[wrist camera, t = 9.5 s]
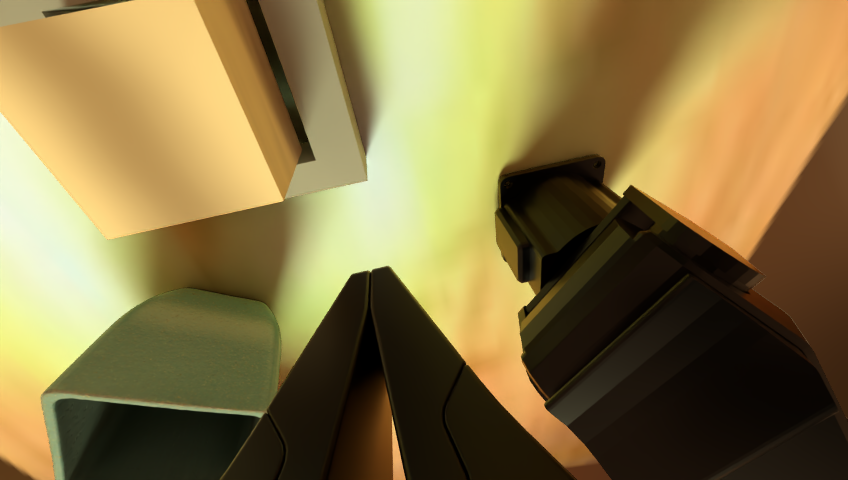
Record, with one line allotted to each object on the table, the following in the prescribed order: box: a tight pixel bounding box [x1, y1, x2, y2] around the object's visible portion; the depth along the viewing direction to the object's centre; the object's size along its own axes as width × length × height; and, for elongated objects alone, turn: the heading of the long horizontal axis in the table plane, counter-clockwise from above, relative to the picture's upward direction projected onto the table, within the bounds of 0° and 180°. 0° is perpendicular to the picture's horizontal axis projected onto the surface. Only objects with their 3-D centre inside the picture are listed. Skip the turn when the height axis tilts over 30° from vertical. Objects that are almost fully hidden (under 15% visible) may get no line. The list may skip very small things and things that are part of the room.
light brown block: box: [0, 0, 302, 240], centre depth 12 cm, size 6×6×5 cm
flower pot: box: [41, 288, 281, 480], centre depth 21 cm, size 9×9×9 cm
